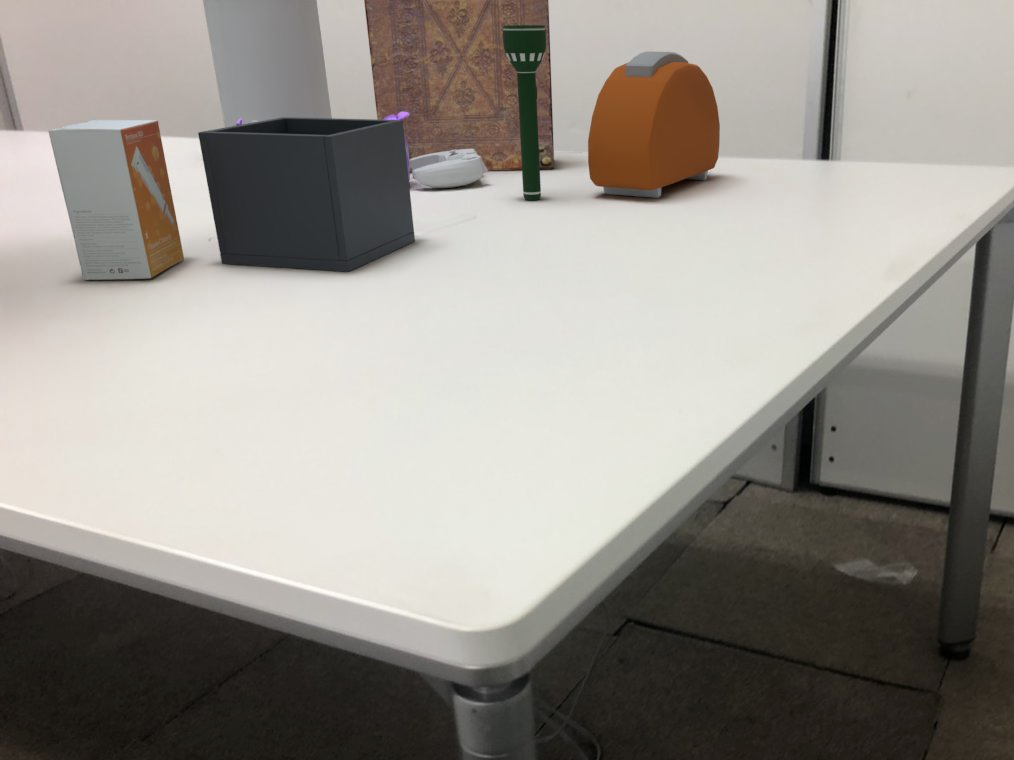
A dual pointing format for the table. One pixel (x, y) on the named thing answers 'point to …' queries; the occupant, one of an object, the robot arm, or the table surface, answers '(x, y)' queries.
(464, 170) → the game controller
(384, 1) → the book
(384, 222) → the dark grey square bin
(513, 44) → the flashlight
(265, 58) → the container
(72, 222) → the small box
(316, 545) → the table surface
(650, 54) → the orange toaster
